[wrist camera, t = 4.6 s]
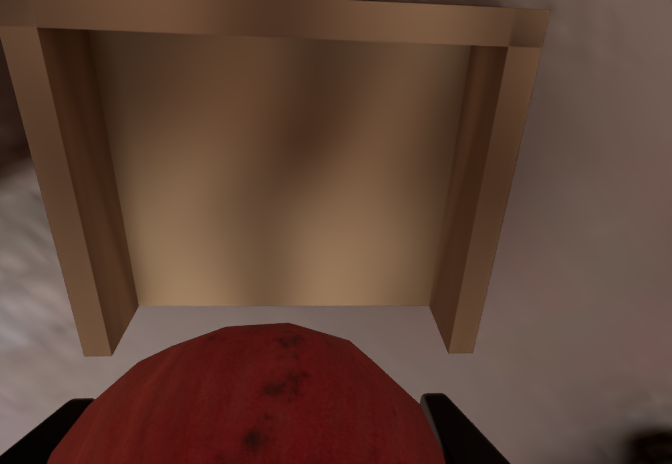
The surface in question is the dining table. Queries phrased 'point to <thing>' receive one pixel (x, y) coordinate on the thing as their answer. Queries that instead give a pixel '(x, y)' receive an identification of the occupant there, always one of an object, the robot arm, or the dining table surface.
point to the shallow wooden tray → (272, 151)
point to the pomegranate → (253, 406)
